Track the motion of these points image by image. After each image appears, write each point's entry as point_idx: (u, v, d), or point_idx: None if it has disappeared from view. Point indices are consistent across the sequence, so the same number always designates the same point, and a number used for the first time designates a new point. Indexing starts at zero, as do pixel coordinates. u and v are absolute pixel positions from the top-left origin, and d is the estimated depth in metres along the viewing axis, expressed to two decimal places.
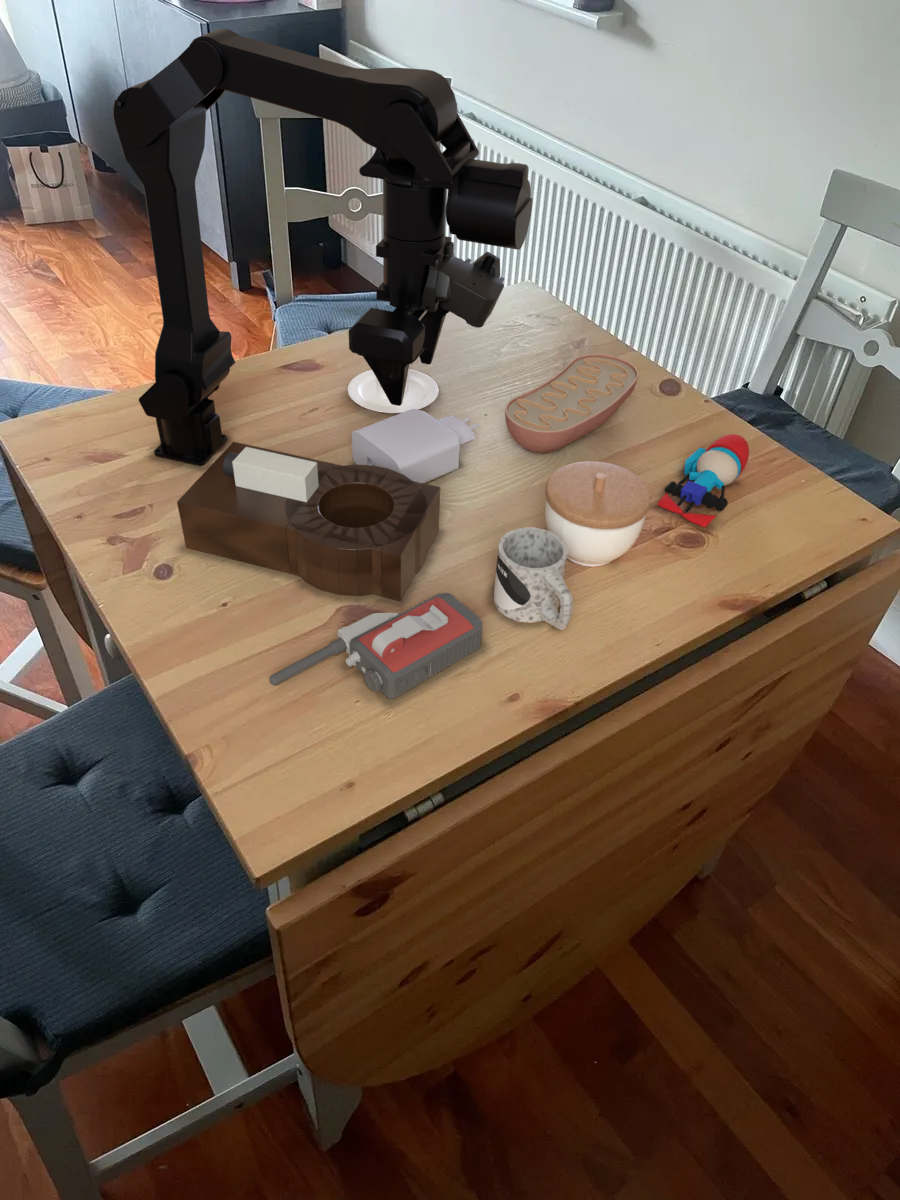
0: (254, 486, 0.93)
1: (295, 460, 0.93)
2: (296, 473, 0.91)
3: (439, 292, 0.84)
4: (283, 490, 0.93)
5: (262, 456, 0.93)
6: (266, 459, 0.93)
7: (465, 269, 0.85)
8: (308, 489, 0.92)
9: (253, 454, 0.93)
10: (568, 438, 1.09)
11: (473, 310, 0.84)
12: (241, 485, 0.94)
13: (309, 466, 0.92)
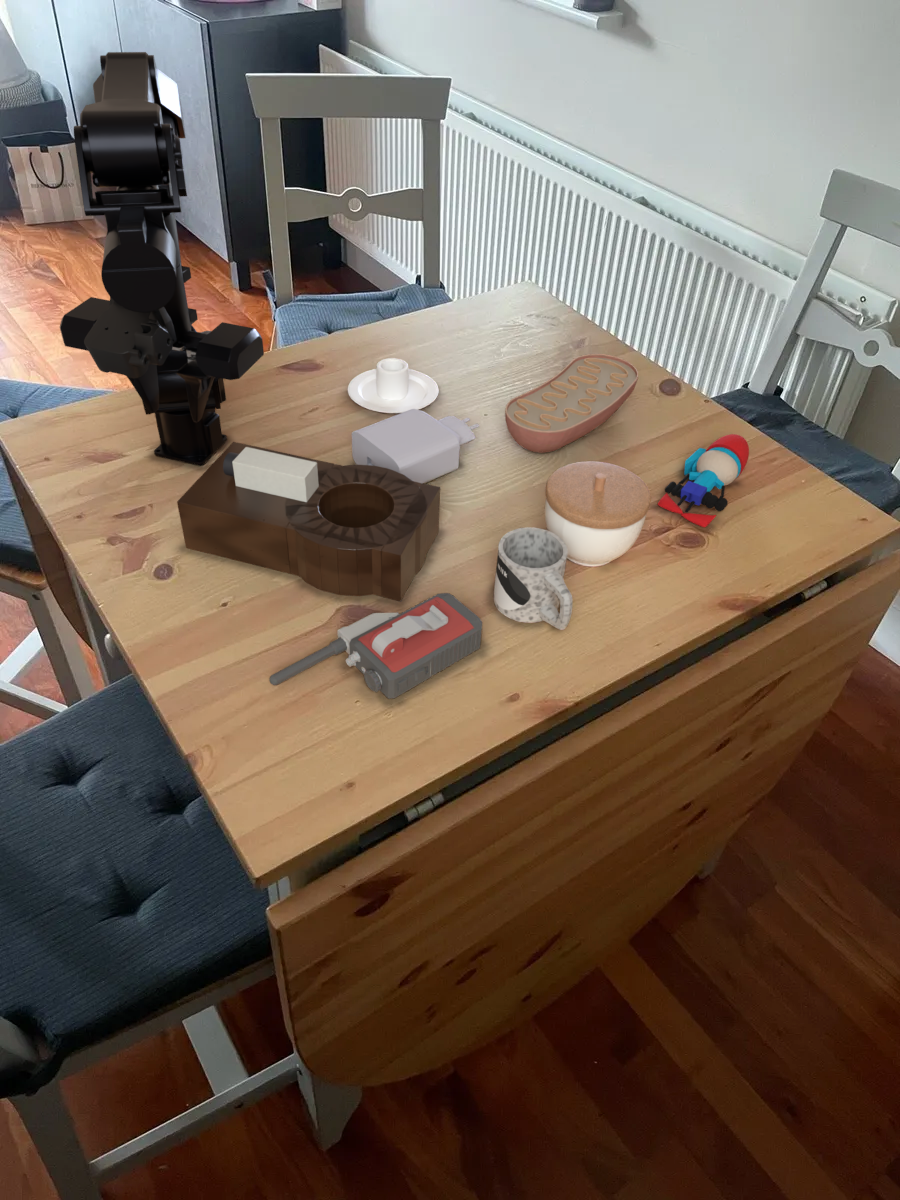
0: (254, 486, 0.93)
1: (295, 460, 0.93)
2: (296, 473, 0.91)
3: None
4: (283, 490, 0.93)
5: (262, 456, 0.93)
6: (266, 459, 0.93)
7: (131, 320, 0.81)
8: (308, 489, 0.92)
9: (253, 454, 0.93)
10: (568, 438, 1.09)
11: None
12: (241, 485, 0.94)
13: (309, 466, 0.92)
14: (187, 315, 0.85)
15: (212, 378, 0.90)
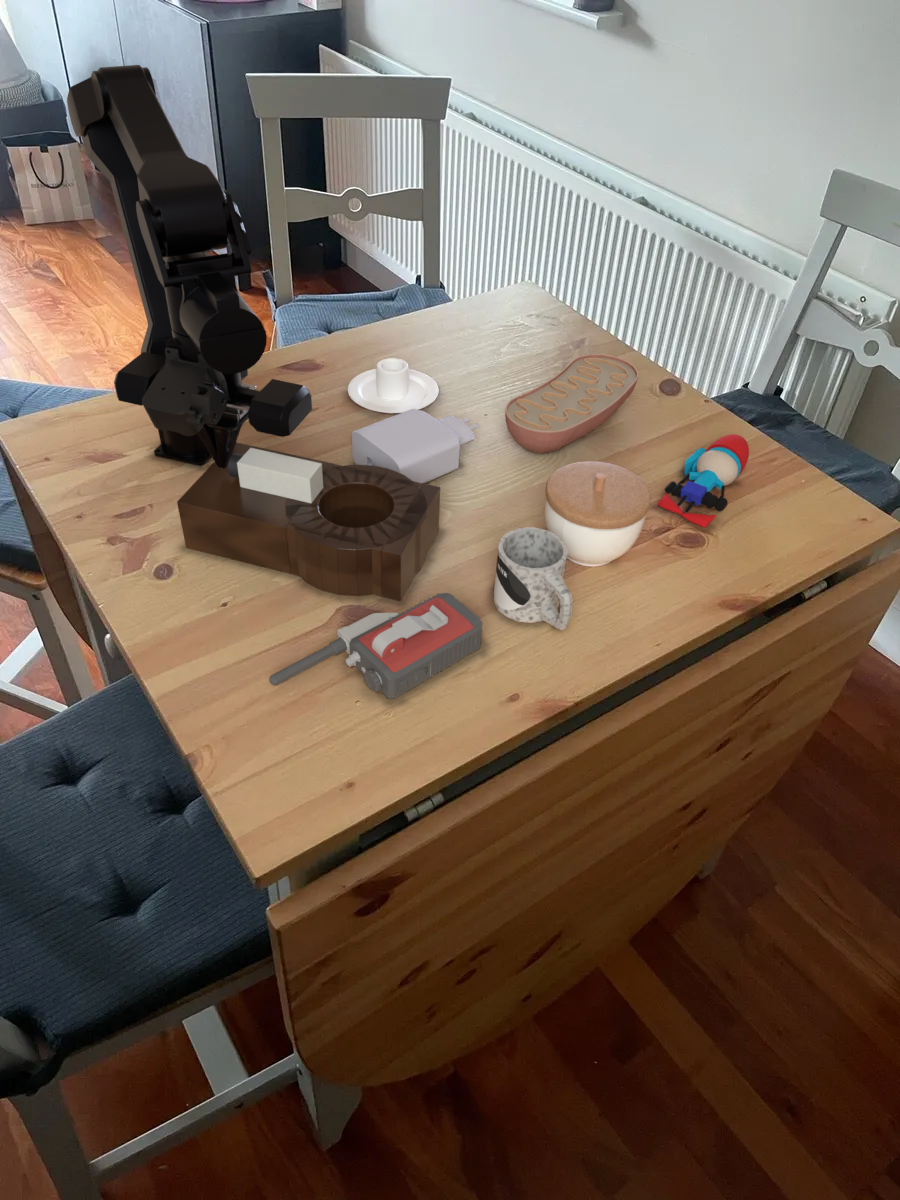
0: (259, 487, 0.93)
1: (300, 461, 0.93)
2: (300, 474, 0.91)
3: None
4: (288, 491, 0.92)
5: (267, 457, 0.93)
6: (271, 460, 0.93)
7: (187, 380, 0.83)
8: (313, 490, 0.92)
9: (258, 456, 0.93)
10: (568, 438, 1.09)
11: None
12: (246, 486, 0.94)
13: (313, 467, 0.92)
14: (239, 372, 0.88)
15: (240, 426, 0.93)
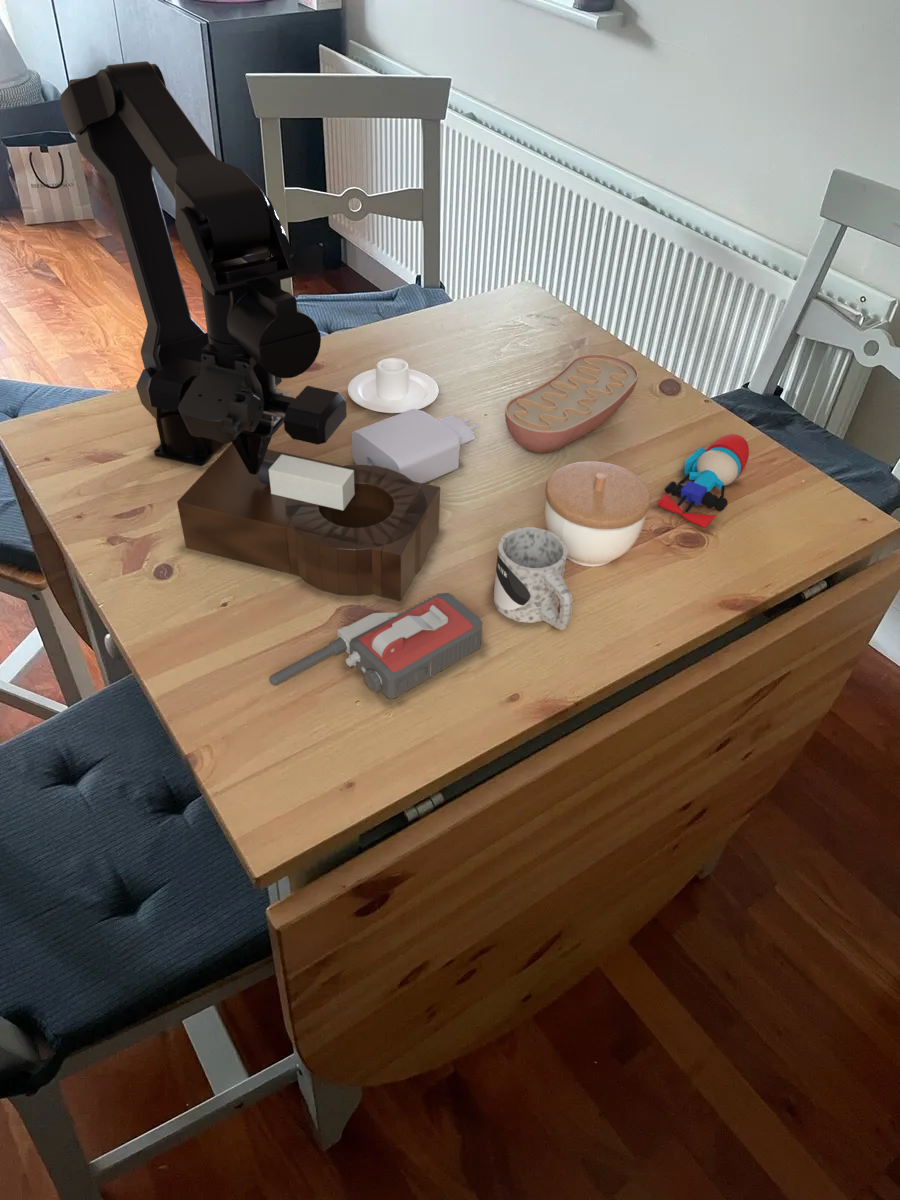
0: (290, 494, 0.93)
1: (332, 468, 0.92)
2: (333, 482, 0.90)
3: None
4: (320, 498, 0.92)
5: (298, 464, 0.92)
6: (302, 466, 0.92)
7: (224, 386, 0.82)
8: (345, 497, 0.91)
9: (290, 462, 0.93)
10: (568, 438, 1.09)
11: None
12: (277, 493, 0.93)
13: (346, 474, 0.91)
14: (274, 379, 0.87)
15: None
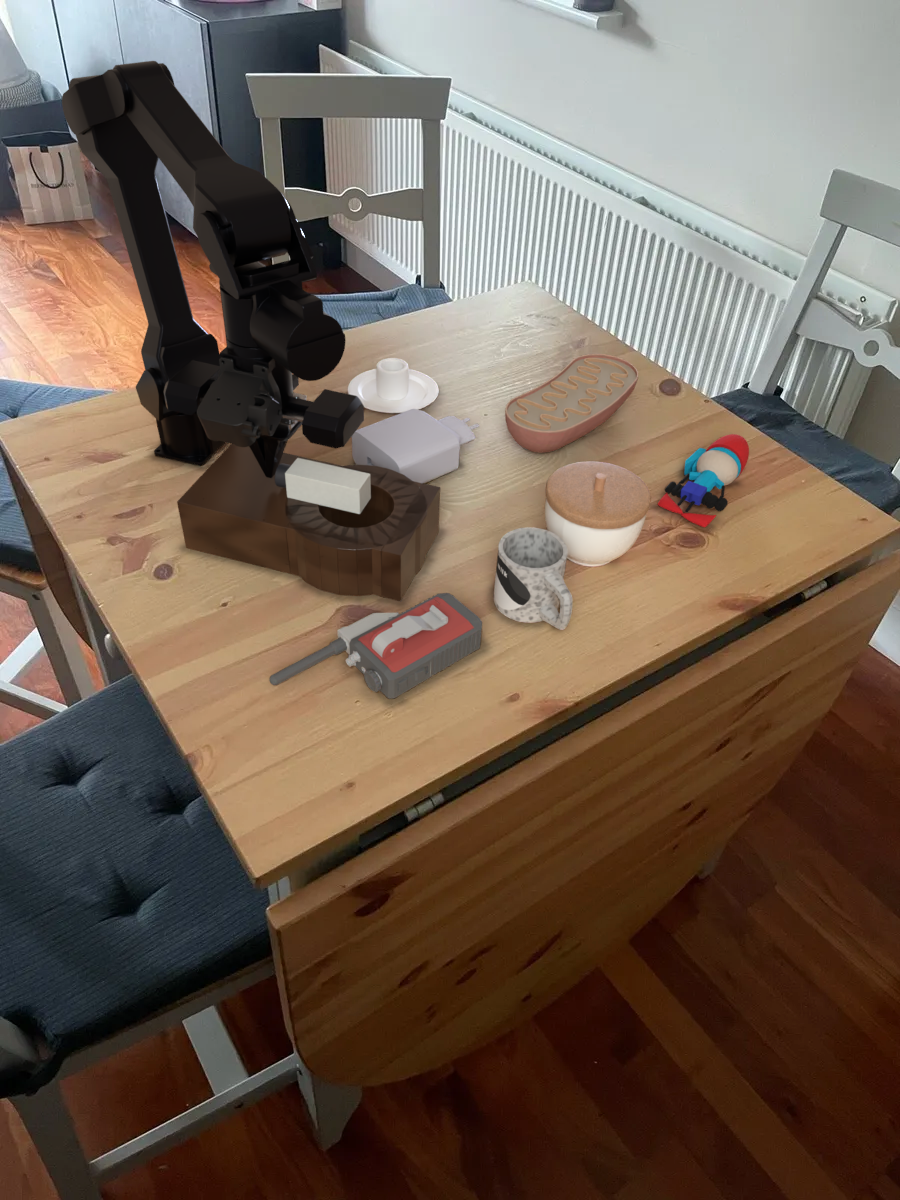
0: (306, 498, 0.92)
1: (348, 471, 0.92)
2: (350, 485, 0.90)
3: None
4: (336, 502, 0.91)
5: (315, 468, 0.92)
6: (319, 470, 0.92)
7: (242, 390, 0.82)
8: (362, 501, 0.91)
9: (306, 466, 0.92)
10: (568, 438, 1.09)
11: None
12: (293, 496, 0.93)
13: (362, 478, 0.91)
14: (291, 382, 0.87)
15: None
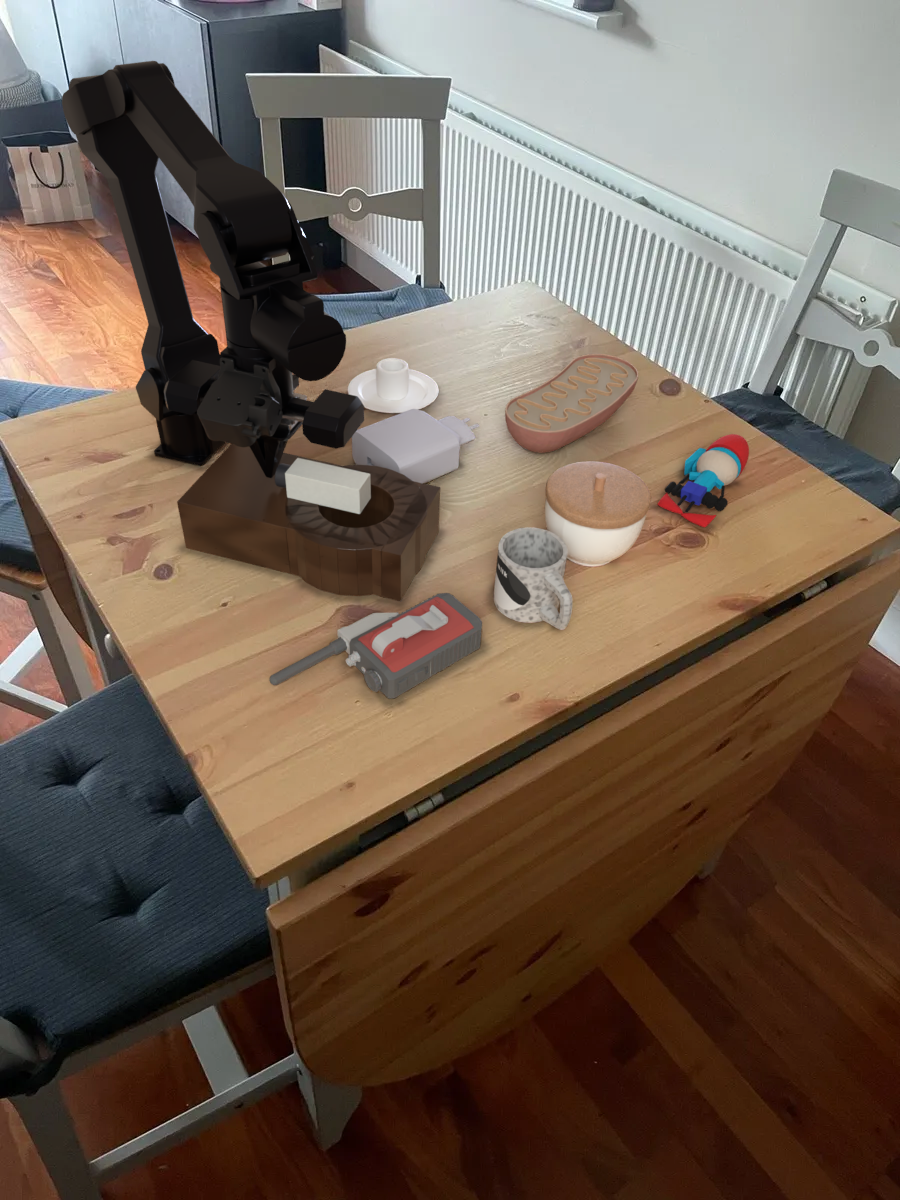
0: (306, 498, 0.92)
1: (348, 471, 0.92)
2: (350, 485, 0.90)
3: None
4: (336, 502, 0.91)
5: (315, 468, 0.92)
6: (319, 470, 0.92)
7: (243, 390, 0.82)
8: (362, 501, 0.91)
9: (306, 466, 0.92)
10: (568, 438, 1.09)
11: None
12: (293, 496, 0.93)
13: (362, 478, 0.91)
14: (292, 382, 0.87)
15: None
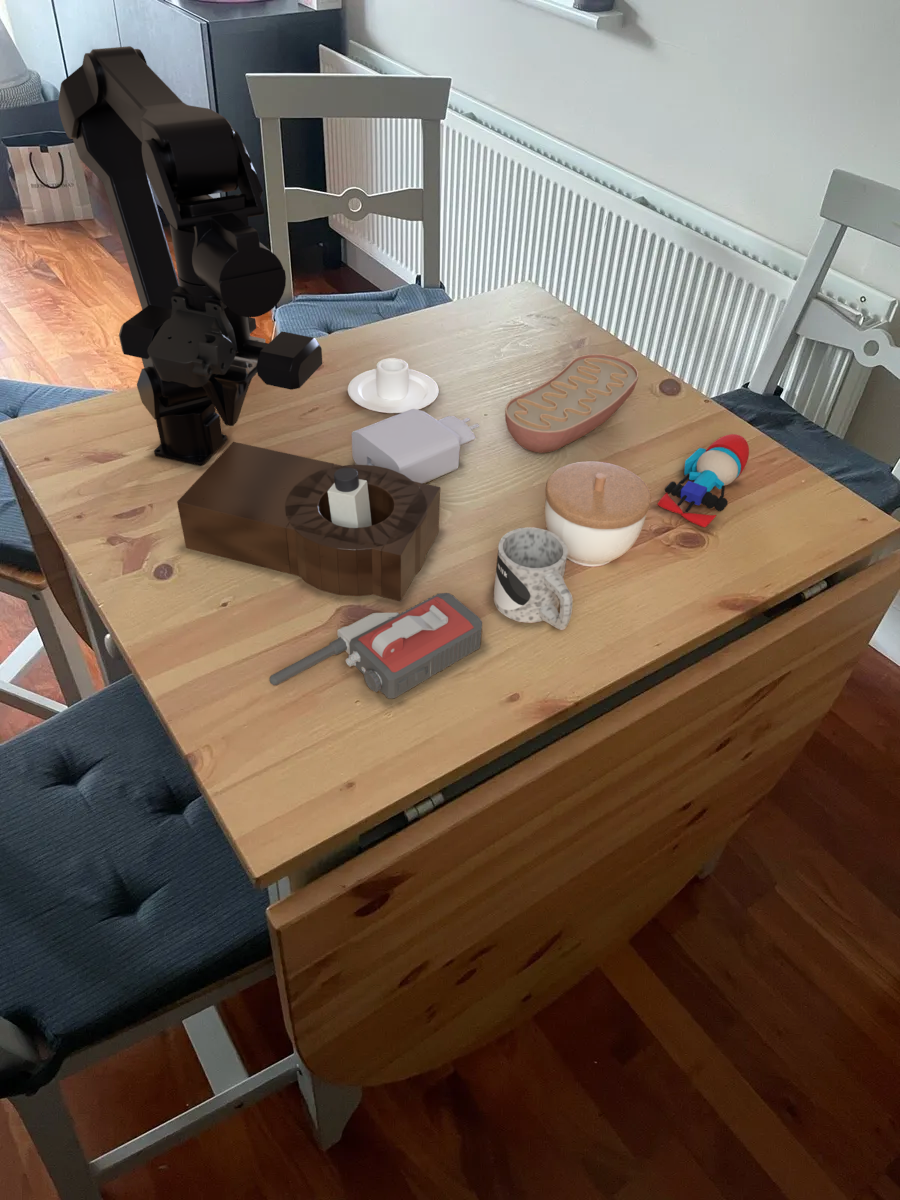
0: (334, 510, 0.92)
1: None
2: None
3: None
4: None
5: (364, 506, 0.93)
6: (364, 512, 0.93)
7: (194, 329, 0.80)
8: None
9: (363, 498, 0.92)
10: (568, 438, 1.09)
11: None
12: (330, 497, 0.91)
13: None
14: (247, 324, 0.85)
15: (248, 382, 0.90)
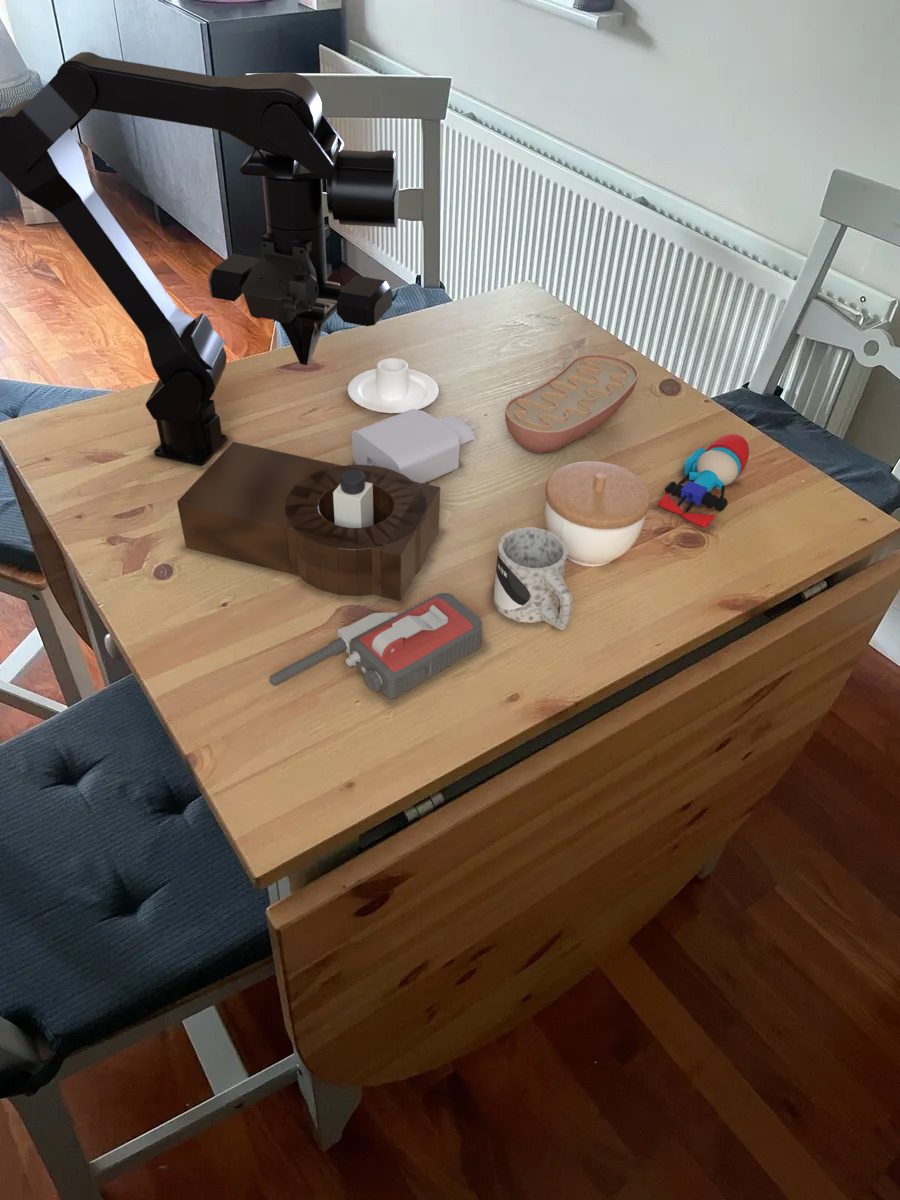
0: (338, 511, 0.92)
1: None
2: None
3: None
4: None
5: (368, 509, 0.93)
6: (368, 514, 0.93)
7: (283, 270, 0.90)
8: None
9: (368, 501, 0.92)
10: (568, 438, 1.09)
11: None
12: (335, 498, 0.91)
13: None
14: (326, 268, 0.94)
15: (322, 324, 1.00)
